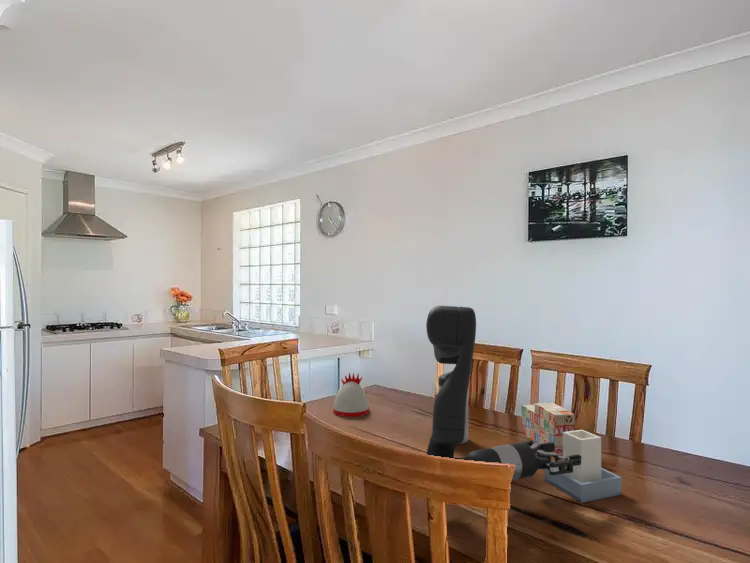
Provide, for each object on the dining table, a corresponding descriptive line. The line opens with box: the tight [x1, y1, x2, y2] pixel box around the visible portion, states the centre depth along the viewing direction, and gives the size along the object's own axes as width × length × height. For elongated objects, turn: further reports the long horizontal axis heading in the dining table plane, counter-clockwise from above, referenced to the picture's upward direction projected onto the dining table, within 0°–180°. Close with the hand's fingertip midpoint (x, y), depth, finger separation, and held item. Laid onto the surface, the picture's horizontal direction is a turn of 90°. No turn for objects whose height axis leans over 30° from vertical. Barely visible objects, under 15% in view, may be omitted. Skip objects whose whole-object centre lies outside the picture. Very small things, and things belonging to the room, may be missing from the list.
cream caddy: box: [563, 429, 602, 483], centre depth 109 cm, size 6×6×12 cm
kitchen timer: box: [332, 372, 370, 418], centre depth 173 cm, size 14×14×15 cm
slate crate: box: [544, 467, 623, 503], centre depth 109 cm, size 12×12×4 cm
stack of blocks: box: [521, 402, 575, 456], centre depth 139 cm, size 21×6×12 cm, turn 7°
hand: (566, 452), depth 107 cm, fingers open, 8 cm apart
